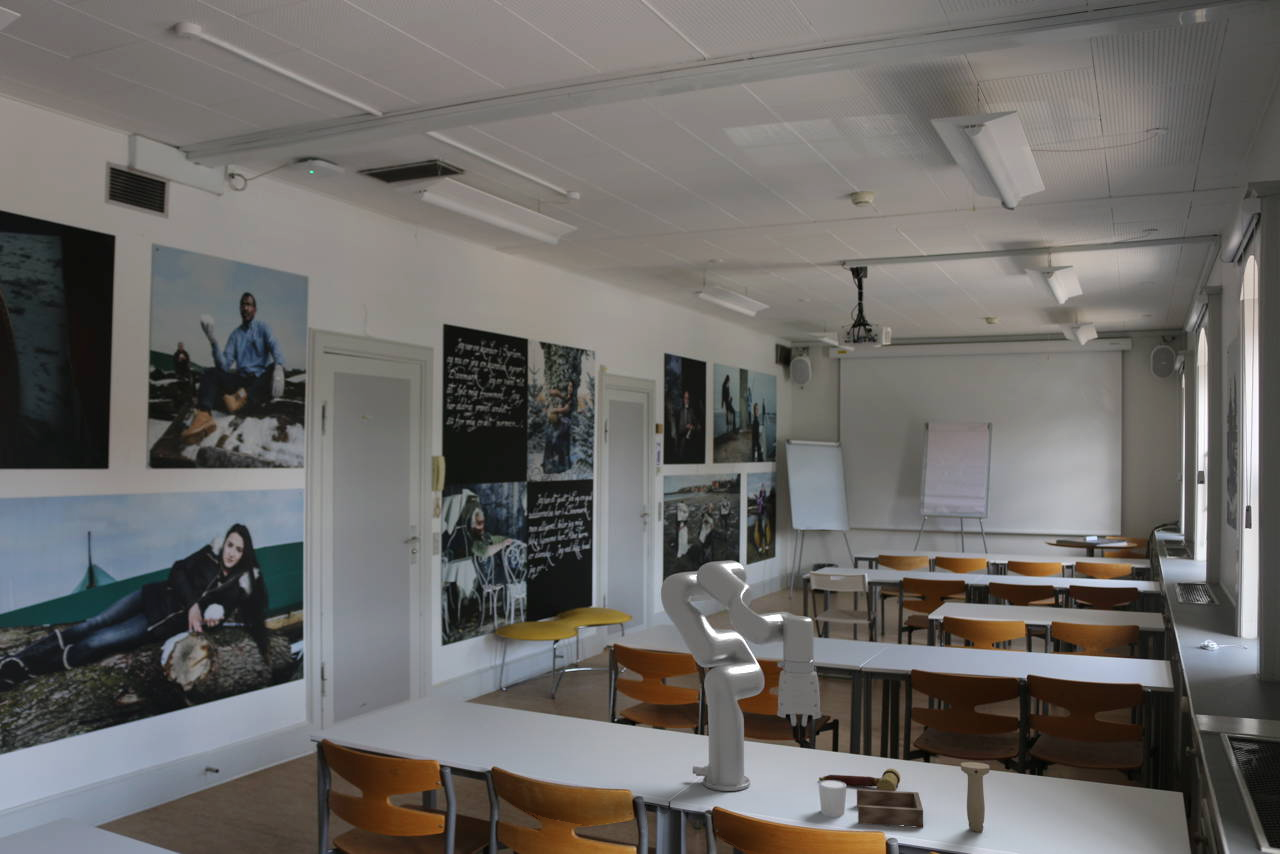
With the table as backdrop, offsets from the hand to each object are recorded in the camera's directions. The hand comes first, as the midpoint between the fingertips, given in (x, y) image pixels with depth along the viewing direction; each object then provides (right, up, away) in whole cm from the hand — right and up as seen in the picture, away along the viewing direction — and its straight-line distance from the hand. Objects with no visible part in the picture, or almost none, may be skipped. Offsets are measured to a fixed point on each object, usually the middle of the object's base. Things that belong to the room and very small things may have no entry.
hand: (799, 740), depth 248 cm
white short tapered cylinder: (+8, -17, -2) cm, 19 cm away
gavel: (+18, -18, +18) cm, 32 cm away
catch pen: (+21, -17, -5) cm, 27 cm away
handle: (+39, -17, -14) cm, 45 cm away
